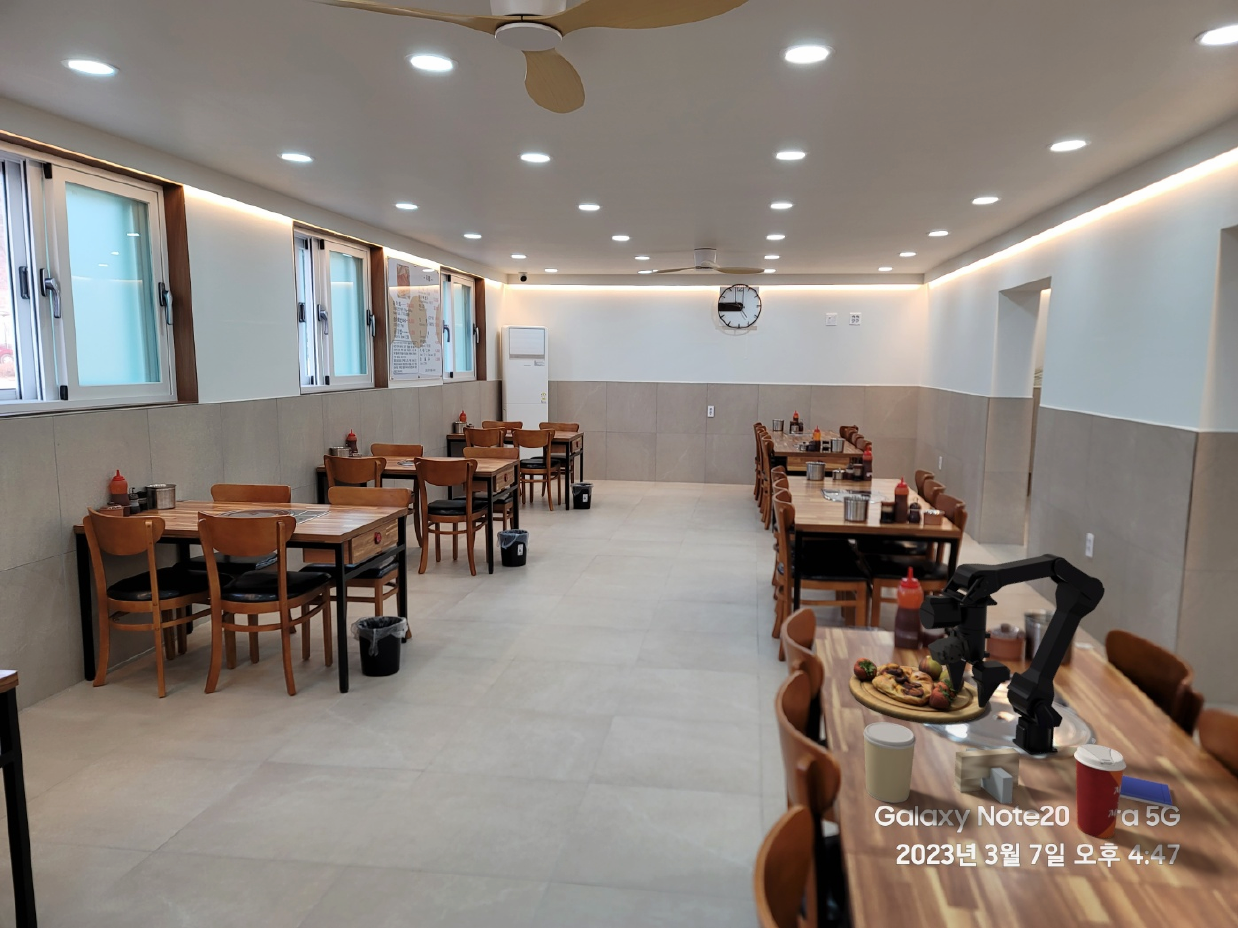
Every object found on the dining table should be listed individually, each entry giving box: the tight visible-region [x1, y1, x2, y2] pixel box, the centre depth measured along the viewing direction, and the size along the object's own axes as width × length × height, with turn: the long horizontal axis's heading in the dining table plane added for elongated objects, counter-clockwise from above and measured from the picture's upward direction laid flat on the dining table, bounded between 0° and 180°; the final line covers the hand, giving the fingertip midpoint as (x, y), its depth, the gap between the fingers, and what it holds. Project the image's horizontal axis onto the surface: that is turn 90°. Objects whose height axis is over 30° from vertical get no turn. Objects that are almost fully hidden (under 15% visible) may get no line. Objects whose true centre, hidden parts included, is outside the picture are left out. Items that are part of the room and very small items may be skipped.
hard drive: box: [1120, 775, 1173, 809], centre depth 152 cm, size 2×8×12 cm
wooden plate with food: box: [848, 655, 987, 724], centre depth 196 cm, size 32×32×8 cm
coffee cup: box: [863, 721, 917, 804], centre depth 150 cm, size 9×9×12 cm
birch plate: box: [953, 747, 1021, 793], centre depth 152 cm, size 12×2×7 cm, turn 98°
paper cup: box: [1073, 743, 1127, 839], centre depth 138 cm, size 8×8×14 cm
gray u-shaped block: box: [965, 747, 1014, 805], centre depth 152 cm, size 2×12×5 cm, turn 8°
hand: (968, 698), depth 165 cm, fingers open, 9 cm apart
